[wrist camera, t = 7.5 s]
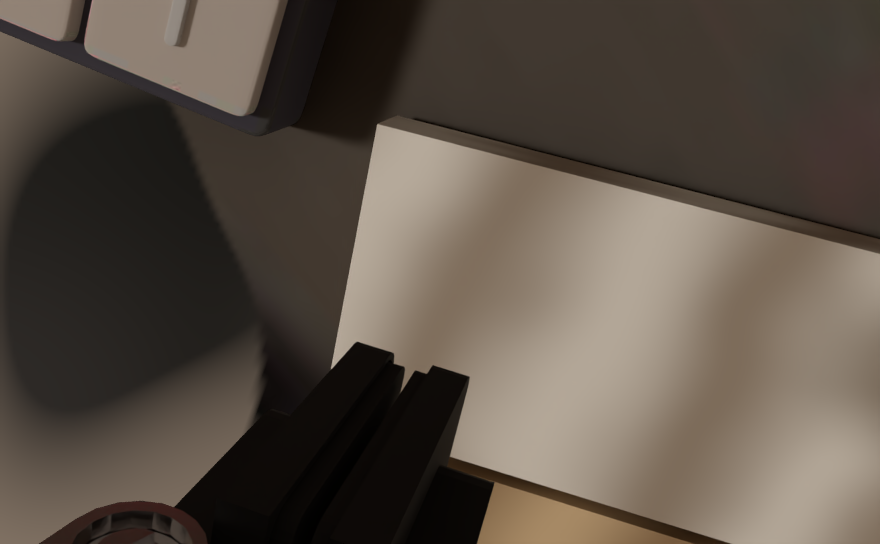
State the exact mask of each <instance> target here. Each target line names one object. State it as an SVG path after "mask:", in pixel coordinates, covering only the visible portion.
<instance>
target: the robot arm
mask: <svg viewBox="0 0 880 544" xmlns="http://www.w3.org/2000/svg"><path fill="white" fill-rule="evenodd" d="M404 374H405V367H404V366H400V365H397V364H394V353H392V352H389V351H386V350H383V349H380V348H376V347H373V346H370V345H367V344H363V343H360V342H356V343H354V344H353V346H352V347H351V348H350V349H349V350H348V351H347V352H346V353H345V355H344V356H343V357H342V358H341V359H340V360H339V361H338V362H337V364H336V365H335V366H334V367H333V368H332V369H331V370H330V371H329V373H328V374H327V375H326V376H325V377H324V378H323V379H322V380H321V382H320V383H319V384H318V385H317V386H316V387H315V388H314V389H313V391H312V392H311V393H310V394H309V395H308V396H307V397H306V398H305V400H304V401H303V402H302V403H301V404H300V405H299V406H298V407H297V409H296V410H295V411H294V412H293V413H292V414H291V415H290V414H287V413H284V412H281V411H277V410H274V409H273V410H269V411H267V412H266V413H265V414H263V415H262V416H261V417H260V418H259V420H258V421H257V422H256V423H255V424H254V425H253V426H252V427H251V428H250V429H249V430H248V431H247V432H246V433H245V434H244V435H243V436H242V437H241V438H240V439H239V440H238V441H237V442H236V444H235V445H234V446H233V447H232V448H231V449H230V450H229V451H228V452H227V453H226V454H225V455H224V456H223V457H222V458H221V459H220V460H219V461H218V462H217V463H216V464H215V465H214V466H213V467H212V468H211V469H210V470H209V471H208V473H207V474H206V475H205V476H204V477H203V478H202V479H201V480H200V481H199V482H198V483H197V484H196V485H195V486H194V487H193V488H192V489H191V490H190V491H189V492H188V493H187V494H186V495H185V496H184V497H183V498H182V500H181V501H180V502H179V503H178V504H177V505H176V506H175V507H171V506H168V505H165V504H162V503H154V502H145V501H133V502H119V503H115V504H111V505H108V506H104V507H100V508H96V509H94V510H92V511H90V512H88V513H86V514H85V515H83V516H81V517H79V518H77V519H75V520H74V521H72V522H71V523H69V524H68V525H66V526H65V527H63V528H62V529H61V530H59V531H57V532H56V533H54V534H53V535H52V536H50V537H48V538H47V539H46V540H44V541H43V542H41V543H39V544H477V542H478V539H479V535H480V532H481V528H482V525H483V522H484V518H485V515H486V511H487V508H488V504H489V501H490V497H491V494H492V491H493V487H494V484H495V482H492V481H489V480H486V479H483V478H480V477H477V476H474V475H471V474H468V473H465V472H462V471H459V470H456V469H453V468H450V467H447V466H448V462H449V458H450V454H451V450H452V447H453V443H454V439H455V435H456V431H457V428H458V424H459V420H460V416H461V412H462V409H463V405H464V401H465V397H466V393H467V389H468V385H469V380H470V377H469V376H466V375H463V374H460V373H457V372H453V371H450V370H447V369H444V368H441V367H437V366H434V365H432V367H431V368H430V370H429V371H428V373H427V374H426V373H423V372H419V371H416V370H415V371H414V373H413V374H412V376H411V377H410V379H409V380H408V382H407V384H406V385H405V387H404V388H403V390H402V391H401V388H402V384H403V379H404ZM400 392H401V393H400Z"/></svg>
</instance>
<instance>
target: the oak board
mask: <svg viewBox="0 0 880 544" xmlns="http://www.w3.org/2000/svg"><path fill="white" fill-rule="evenodd" d="M447 467H450V468H453V469H456V470H459V471H462V472H465V473H468V474H471V475H474V476H477V477H480V478H483V479H486V480H489V481H492V482H495V484H494V487H493V491H492V494H491V497H490V501H489V504H488V508H487V511H486V515H485V518H484V522H483V525H482V528H481V532H480V535H479V539H478V542H477V544H731V543H727V542H724V541H721V540H718V539H715V538H711V537H708V536H705V535H702V534H698V533H695V532H692V531H689V530H685V529H682V528H679V527H676V526H673V525H669V524H666V523H663V522H660V521H656V520H653V519H650V518H647V517H643V516H640V515H637V514H634V513H631V512H627V511H624V510H621V509H618V508H614V507H611V506H608V505H605V504H601V503H598V502H595V501H592V500H588V499H585V498H582V497H579V496H576V495H572V494H569V493H566V492H563V491H559V490H556V489H553V488H550V487H546V486H543V485H540V484H537V483H534V482H530V481H527V480H524V479H521V478H517V477H514V476H511V475H508V474H504V473H501V472H498V471H495V470H492V469H488V468H485V467H482V466H479V465H475V464H472V463H469V462H466V461H462V460H459V459H456V458H453V457H450V458H449V462H448V466H447Z"/></svg>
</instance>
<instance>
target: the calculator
mask: <svg viewBox="0 0 880 544" xmlns="http://www.w3.org/2000/svg"><path fill="white" fill-rule="evenodd" d="M336 3H337V0H0V31H1V32H3V33H5V34H8V35H10V36H13V37H15V38H18V39H20V40H22V41H25V42H27V43H30V44H32V45H35V46H37V47H39V48H42V49H44V50H47V51H49V52H51V53H54V54H56V55H59V56H61V57H63V58H66V59H69V60H71V61H73V62H75V63H78V64H81V65H83V66H85V67H88V68H90V69H92V70H95V71H97V72H100V73H102V74H105V75H107V76H109V77H112V78H114V79H117V80H119V81H121V82H124V83H127V84H129V85H131V86H134V87H136V88H138V89H141V90H143V91H146V92H148V93H150V94H153V95H155V96H158V97H160V98H163V99H165V100H167V101H170V102H172V103H175V104H177V105H179V106H182V107H184V108H187V109H189V110H192V111H194V112H196V113H199V114H201V115H204V116H206V117H208V118H211V119H213V120H216V121H218V122H221V123H223V124H225V125H228V126H230V127H233V128H235V129H238V130H240V131H243V132H245V133H247V134H250V135H253V136H262V135H266V134H269V133H272V132H274V131H277V130H280V129H282V128H285V127H288V126H290V125H293V124H295V123H296V122H297V121H298V120H299V119H300V117H301V115H302V112H303V109H304V106H305V103H306V100H307V96H308V93H309V90H310V87H311V83H312V80H313V77H314V74H315V71H316V67H317V64H318V61H319V58H320V54H321V51H322V48H323V45H324V42H325V38H326V35H327V32H328V29H329V26H330V22H331V19H332V16H333V13H334V9H335V6H336Z"/></svg>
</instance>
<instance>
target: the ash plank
mask: <svg viewBox="0 0 880 544" xmlns="http://www.w3.org/2000/svg"><path fill="white" fill-rule="evenodd" d="M356 342H360V343H363V344H367V345H370V346H373V347H376V348H380V349H383V350H386V351H389V352H392V353H394V364H397V365H400V366H404V367H405V374H404V379H403V384H402V388H401V391H402V390H403V388H404V387H405V385H406V384H407V382H408V380H409V379H410V377H411V376H412V374H413V373H414V371H415V370H416V371H419V372H423V373H426V374H427V373H428V371H429V370H430V368H431V367H432V365H434V366H437V367H441V368H444V369H447V370H450V371H453V372H457V373H460V374H463V375H466V376H469V377H470V380H469V385H468V389H467V393H466V397H465V401H464V405H463V409H462V412H461V416H460V420H459V424H458V428H457V431H456V435H455V439H454V443H453V447H452V450H451V454H450V457H453V458H456V459H459V460H462V461H466V462H469V463H472V464H475V465H479V466H482V467H485V468H488V469H492V470H495V471H498V472H501V473H504V474H508V475H511V476H514V477H517V478H521V479H524V480H527V481H530V482H534V483H537V484H540V485H543V486H546V487H550V488H553V489H556V490H559V491H563V492H566V493H569V494H572V495H576V496H579V497H582V498H585V499H588V500H592V501H595V502H598V503H601V504H605V505H608V506H611V507H614V508H618V509H621V510H624V511H627V512H631V513H634V514H637V515H640V516H643V517H647V518H650V519H653V520H656V521H660V522H663V523H666V524H669V525H673V526H676V527H679V528H682V529H685V530H689V531H692V532H695V533H698V534H702V535H705V536H708V537H711V538H715V539H718V540H721V541H724V542H727V543H731V544H880V239H876V238H873V237H869V236H865V235H861V234H857V233H853V232H849V231H845V230H841V229H837V228H834V227H830V226H826V225H822V224H818V223H814V222H810V221H806V220H802V219H798V218H795V217H791V216H787V215H783V214H779V213H775V212H771V211H767V210H763V209H759V208H756V207H752V206H748V205H744V204H740V203H736V202H732V201H728V200H724V199H720V198H717V197H713V196H709V195H705V194H701V193H697V192H693V191H689V190H685V189H682V188H678V187H674V186H670V185H666V184H662V183H658V182H654V181H650V180H646V179H643V178H639V177H635V176H631V175H627V174H623V173H619V172H615V171H611V170H607V169H604V168H600V167H596V166H592V165H588V164H584V163H580V162H576V161H572V160H568V159H565V158H561V157H557V156H553V155H549V154H545V153H541V152H537V151H533V150H529V149H526V148H522V147H518V146H514V145H510V144H506V143H502V142H498V141H494V140H490V139H487V138H483V137H479V136H475V135H471V134H467V133H463V132H459V131H455V130H452V129H448V128H444V127H440V126H436V125H432V124H428V123H424V122H420V121H416V120H413V119H409V118H405V117H401V116H394V117H392V118H390V119H388V120H385V121H383V122H381V123H379V124H377V129H376V134H375V139H374V144H373V150H372V155H371V160H370V166H369V171H368V176H367V181H366V187H365V192H364V197H363V203H362V208H361V213H360V218H359V224H358V229H357V234H356V240H355V245H354V250H353V256H352V261H351V266H350V271H349V277H348V282H347V287H346V293H345V298H344V303H343V308H342V314H341V319H340V324H339V330H338V335H337V340H336V345H335V351H334V356H333V361H332V367H331V369H332V368H333V367H334V366H335V365H336V364H337V362H338V361H339V360H340V359H341V358H342V357H343V356H344V355H345V353H346V352H347V351H348V350H349V349H350V348H351V347H352V346H353V344H354V343H356ZM400 393H401V392H400Z"/></svg>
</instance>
